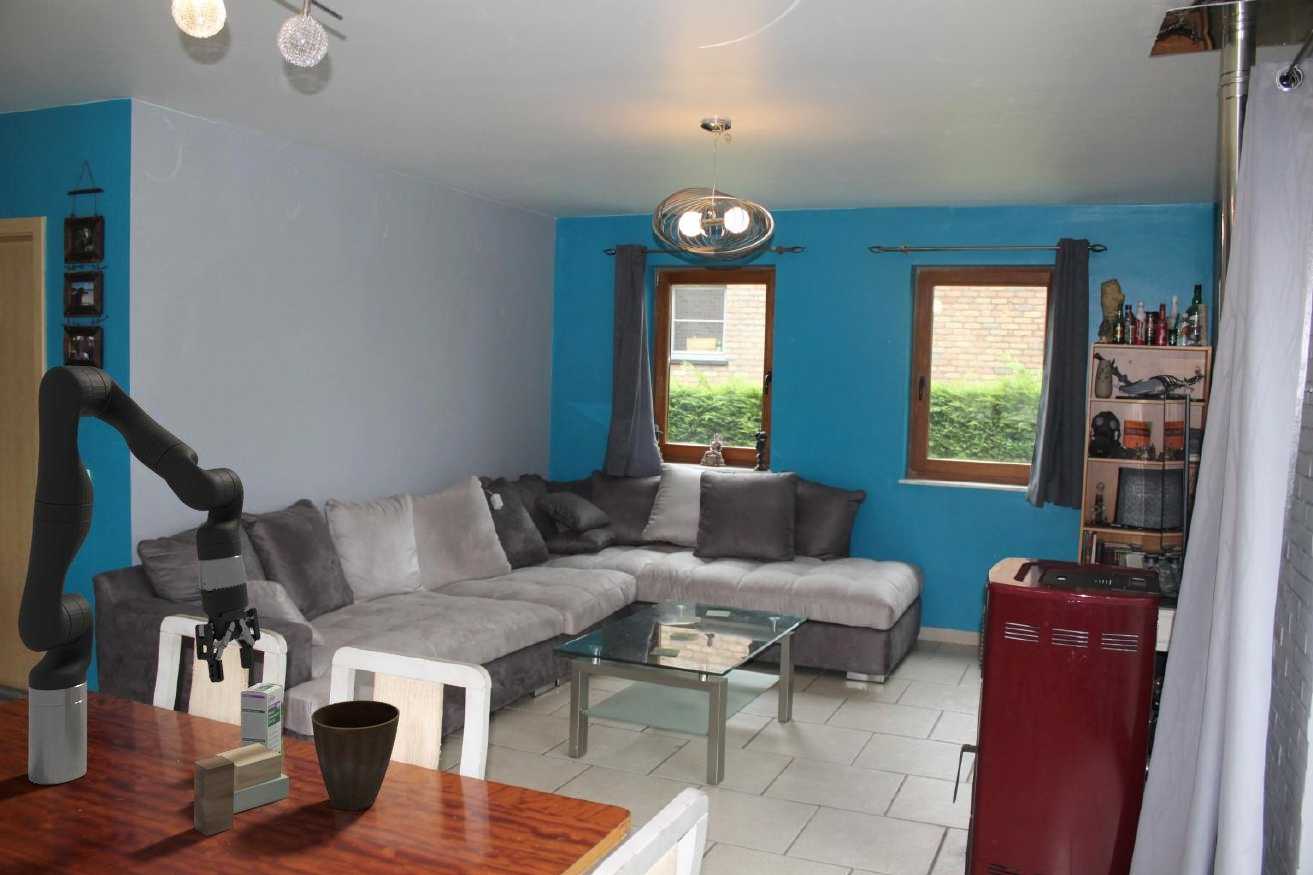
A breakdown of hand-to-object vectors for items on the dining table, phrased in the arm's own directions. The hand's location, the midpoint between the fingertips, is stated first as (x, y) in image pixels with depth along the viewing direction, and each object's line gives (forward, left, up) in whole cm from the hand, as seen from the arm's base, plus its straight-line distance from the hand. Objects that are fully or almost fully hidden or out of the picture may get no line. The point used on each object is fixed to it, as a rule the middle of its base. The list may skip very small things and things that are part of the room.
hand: (233, 674), depth 180 cm
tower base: (+1, +3, -23) cm, 23 cm away
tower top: (+1, +3, -19) cm, 19 cm away
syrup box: (-13, +13, -23) cm, 29 cm away
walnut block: (+9, -7, -22) cm, 25 cm away
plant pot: (+16, +15, -23) cm, 31 cm away
